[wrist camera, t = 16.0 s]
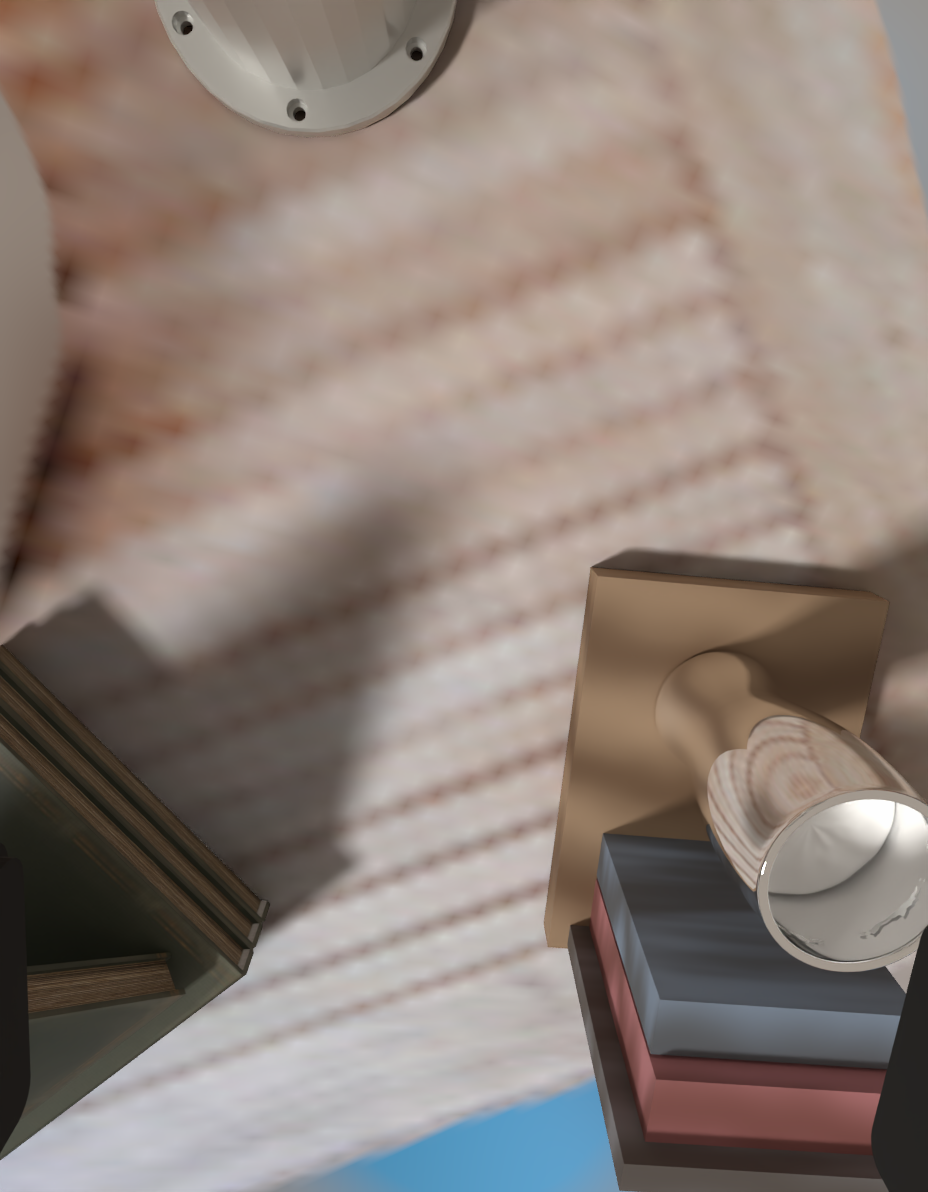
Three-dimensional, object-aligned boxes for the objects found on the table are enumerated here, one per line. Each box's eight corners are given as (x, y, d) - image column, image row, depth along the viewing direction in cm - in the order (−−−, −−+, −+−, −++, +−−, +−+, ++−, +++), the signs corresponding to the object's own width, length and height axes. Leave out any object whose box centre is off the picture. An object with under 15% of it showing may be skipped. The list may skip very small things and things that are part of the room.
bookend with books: (590, 567, 42) (675, 676, 26) (869, 591, 42) (1112, 712, 27) (543, 923, 47) (591, 1193, 31) (794, 941, 47) (964, 1214, 32)
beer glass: (621, 681, 41) (716, 845, 27) (753, 616, 41) (925, 746, 26) (680, 797, 43) (801, 1011, 28) (808, 735, 42) (1000, 922, 28)
